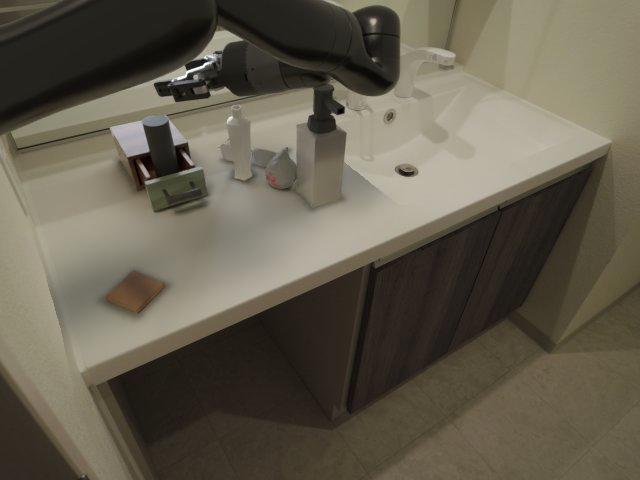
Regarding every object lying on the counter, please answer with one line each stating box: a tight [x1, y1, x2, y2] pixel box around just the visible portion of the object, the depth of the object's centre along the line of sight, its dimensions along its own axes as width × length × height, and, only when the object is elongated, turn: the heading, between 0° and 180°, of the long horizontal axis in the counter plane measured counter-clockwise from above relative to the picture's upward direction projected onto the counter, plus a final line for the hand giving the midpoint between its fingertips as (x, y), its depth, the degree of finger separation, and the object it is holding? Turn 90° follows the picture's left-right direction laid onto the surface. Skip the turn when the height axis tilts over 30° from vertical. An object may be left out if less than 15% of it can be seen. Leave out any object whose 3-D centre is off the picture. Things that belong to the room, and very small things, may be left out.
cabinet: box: [109, 115, 192, 192], centre depth 86 cm, size 14×12×8 cm
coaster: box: [104, 270, 166, 315], centre depth 63 cm, size 6×6×1 cm
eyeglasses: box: [217, 138, 289, 168], centre depth 93 cm, size 14×8×4 cm, turn 77°
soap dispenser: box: [295, 83, 348, 209], centre depth 75 cm, size 6×9×22 cm
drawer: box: [133, 148, 208, 212], centre depth 79 cm, size 17×10×6 cm, turn 33°
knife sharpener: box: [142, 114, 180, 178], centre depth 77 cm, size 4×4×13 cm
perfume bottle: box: [225, 104, 254, 181], centre depth 83 cm, size 5×4×15 cm
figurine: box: [264, 149, 297, 190], centre depth 83 cm, size 7×7×8 cm
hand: (172, 78), depth 66 cm, fingers open, 8 cm apart
